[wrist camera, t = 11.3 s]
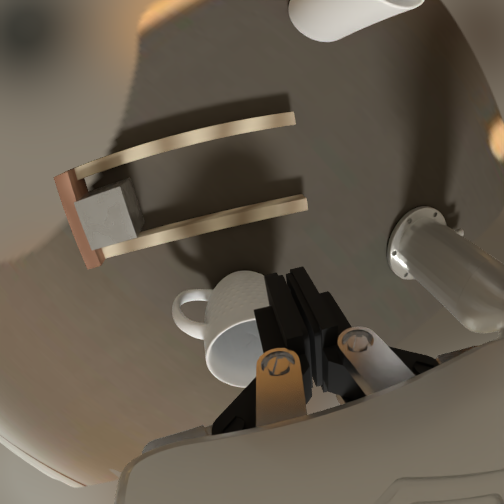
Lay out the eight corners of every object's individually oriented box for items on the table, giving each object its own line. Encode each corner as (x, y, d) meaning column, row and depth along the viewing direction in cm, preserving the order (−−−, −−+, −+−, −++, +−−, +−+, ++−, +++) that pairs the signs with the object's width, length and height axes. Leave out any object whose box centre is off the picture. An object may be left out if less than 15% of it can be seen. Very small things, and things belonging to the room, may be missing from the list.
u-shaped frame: (288, 111, 32) (298, 111, 29) (302, 205, 38) (313, 215, 34) (67, 170, 31) (53, 177, 27) (97, 254, 36) (87, 269, 33)
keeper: (130, 177, 33) (120, 186, 28) (144, 222, 36) (137, 237, 31) (88, 191, 33) (73, 202, 28) (103, 234, 35) (91, 250, 31)
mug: (170, 311, 42) (163, 379, 30) (183, 242, 37) (175, 301, 26) (267, 326, 45) (287, 390, 34) (291, 264, 41) (323, 322, 30)
